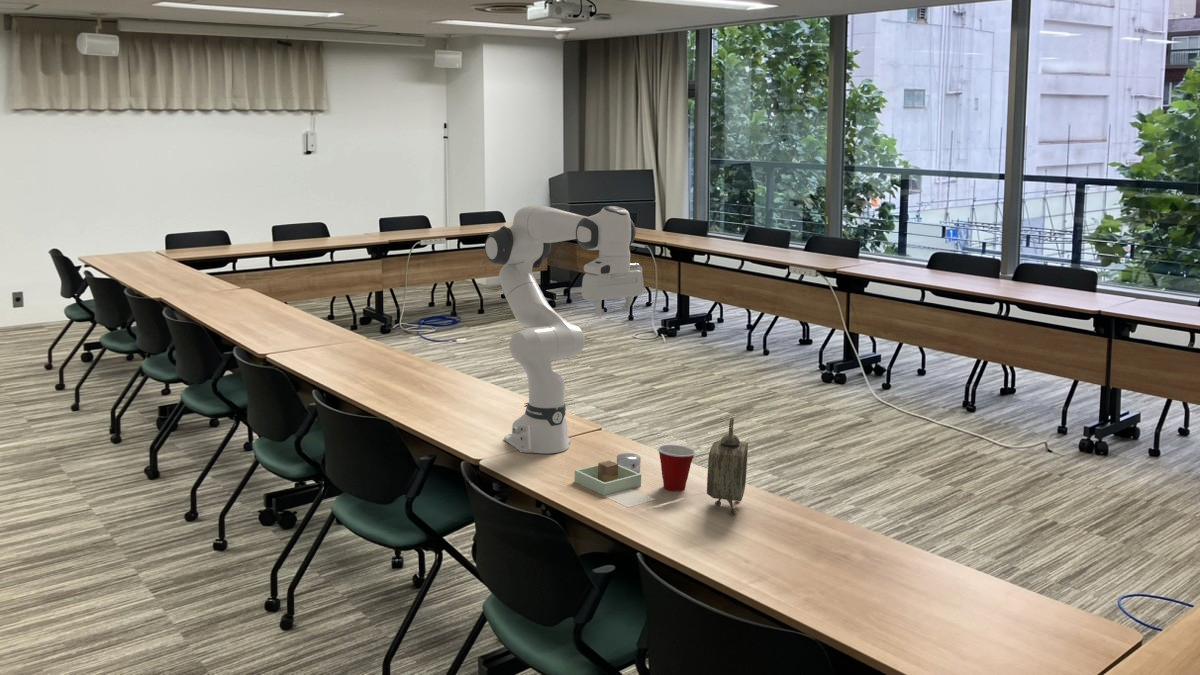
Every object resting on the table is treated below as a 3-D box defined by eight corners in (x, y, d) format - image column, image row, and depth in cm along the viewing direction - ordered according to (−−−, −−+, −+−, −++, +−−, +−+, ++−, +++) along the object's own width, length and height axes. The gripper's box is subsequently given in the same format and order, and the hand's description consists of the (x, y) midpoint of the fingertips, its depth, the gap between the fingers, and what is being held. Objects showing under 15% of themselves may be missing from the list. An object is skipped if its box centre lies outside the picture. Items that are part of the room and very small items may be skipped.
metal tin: (611, 472, 302) (611, 455, 301) (629, 467, 307) (630, 451, 306) (626, 478, 297) (627, 462, 296) (644, 474, 302) (645, 457, 300)
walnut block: (597, 483, 291) (598, 463, 290) (608, 480, 293) (609, 460, 292) (606, 487, 288) (607, 466, 287) (617, 484, 290) (618, 464, 289)
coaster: (604, 498, 281) (604, 496, 281) (631, 490, 287) (631, 488, 287) (627, 509, 274) (627, 507, 273) (655, 501, 280) (655, 499, 280)
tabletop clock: (739, 518, 269) (744, 427, 264) (704, 514, 271) (709, 424, 266) (744, 499, 283) (750, 412, 278) (712, 496, 285) (716, 409, 280)
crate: (574, 483, 292) (574, 470, 291) (610, 474, 300) (611, 461, 299) (604, 497, 282) (604, 483, 281) (640, 487, 290) (641, 474, 289)
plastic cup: (702, 491, 288) (704, 450, 286) (672, 498, 282) (674, 457, 280) (677, 480, 297) (678, 440, 295) (647, 487, 291) (649, 446, 288)
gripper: (634, 261, 296) (633, 308, 299) (579, 266, 283) (577, 315, 286) (649, 264, 291) (647, 312, 294) (593, 269, 278) (591, 319, 281)
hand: (612, 313), depth 290 cm, fingers open, 8 cm apart
